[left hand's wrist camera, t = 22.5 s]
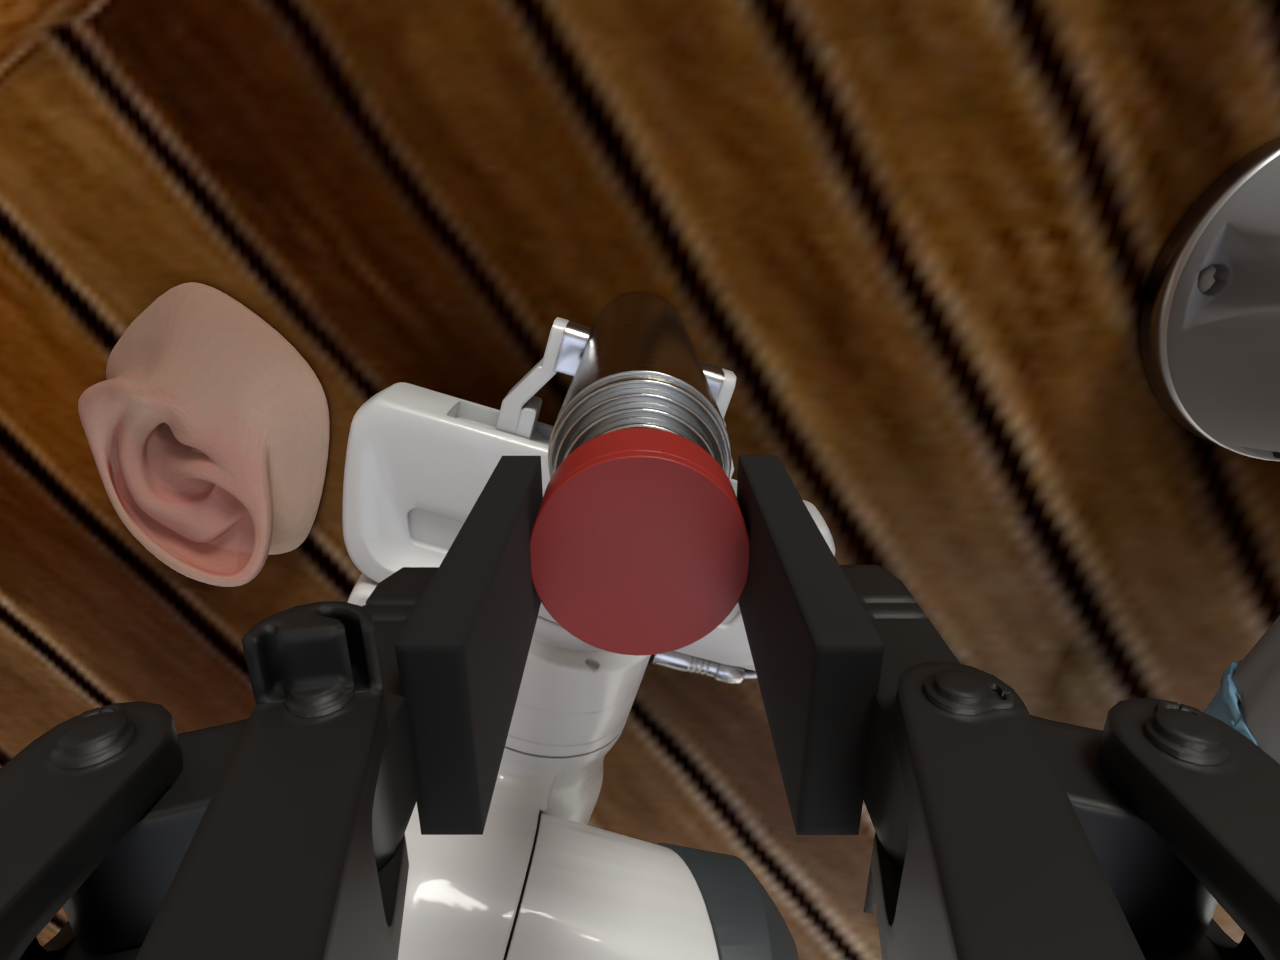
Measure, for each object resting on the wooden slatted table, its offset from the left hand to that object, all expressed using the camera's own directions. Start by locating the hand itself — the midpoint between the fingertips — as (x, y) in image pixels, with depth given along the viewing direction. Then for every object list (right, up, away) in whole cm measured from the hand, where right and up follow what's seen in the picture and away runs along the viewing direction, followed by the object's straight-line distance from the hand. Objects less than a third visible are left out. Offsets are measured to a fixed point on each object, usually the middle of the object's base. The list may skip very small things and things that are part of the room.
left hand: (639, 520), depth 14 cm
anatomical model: (-21, +4, +22) cm, 31 cm away
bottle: (0, +8, +20) cm, 22 cm away
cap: (0, 0, -1) cm, 1 cm away
